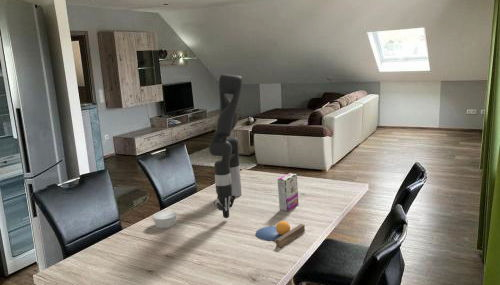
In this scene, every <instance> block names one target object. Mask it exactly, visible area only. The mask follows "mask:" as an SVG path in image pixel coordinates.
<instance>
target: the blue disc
mask: <svg viewBox="0 0 500 285" xmlns="http://www.w3.org/2000/svg"><path fill="white" fill-rule="evenodd" d="M276 226H277V225H274V226H273V225H270V226H264V227H262V228H259V229H257V230H256V232H255V236H256V237H257V238H258V239H260V240H262V241H269V242H270V241H271V242H272V241H276V239H278V238H279V237H281V236H282V235H280V234H278V232H277V230H276Z"/></svg>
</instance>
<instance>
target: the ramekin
mask: <svg viewBox="0 0 500 285" xmlns="http://www.w3.org/2000/svg"><path fill="white" fill-rule="evenodd" d="M152 219H153V223H154V225H155V227H156V228H157V229H168V228H169V229H170V228H171V227H174V226H175V224H176V223H177V212H176V211H174V210H170V209H167V210H161V211H158V212H155V213H154V214H152Z"/></svg>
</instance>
